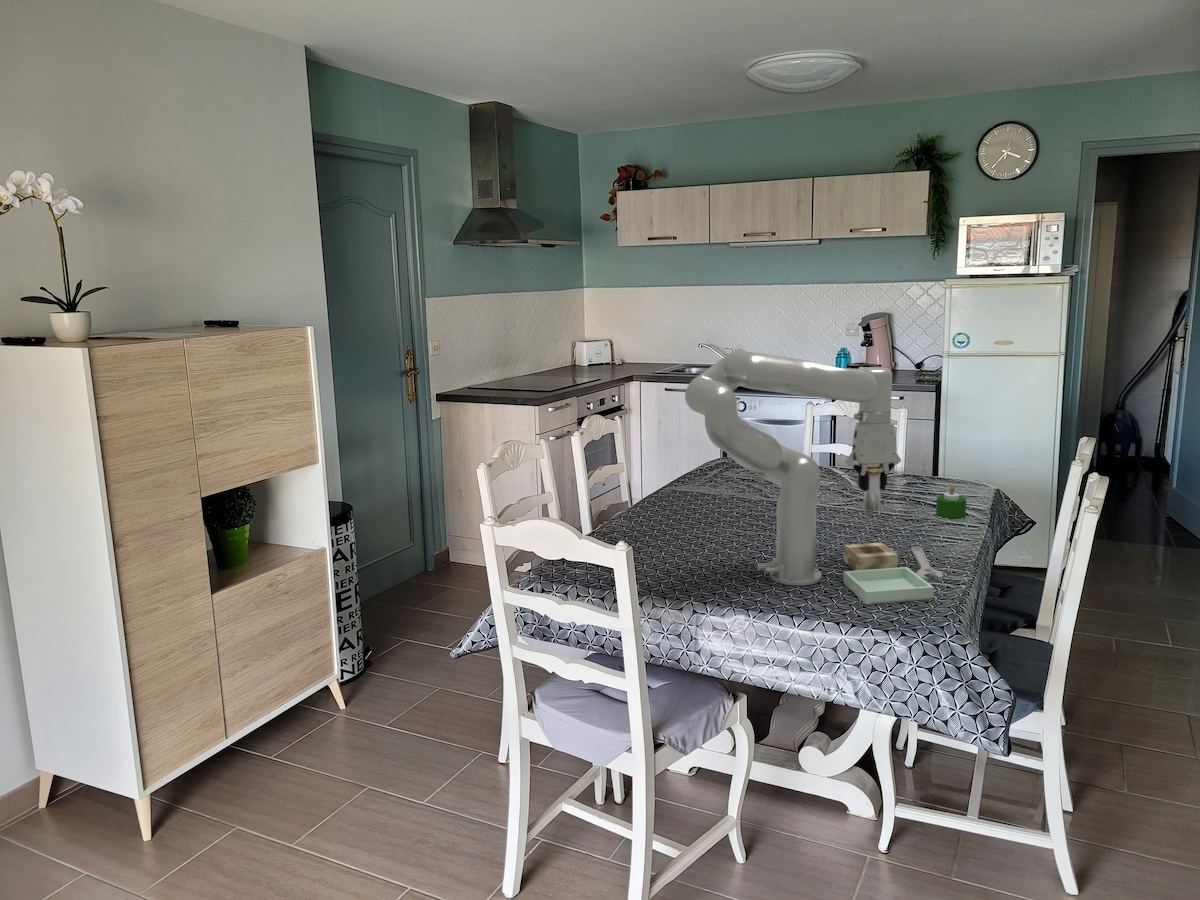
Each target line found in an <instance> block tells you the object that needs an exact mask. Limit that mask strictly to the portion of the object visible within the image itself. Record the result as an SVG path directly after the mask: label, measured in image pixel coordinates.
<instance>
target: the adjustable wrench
mask: <svg viewBox="0 0 1200 900" xmlns="http://www.w3.org/2000/svg"><path fill="white" fill-rule="evenodd" d="M910 548H911V549H910V551H912V552H911V553H913V554H912V555H914V556H915V557H914V556H913V557H914V559H915V562H916V563H917V565H918V567H919V570H917V571H916V572H915V573H916V574H917V575H918V576H920V577H921V578H922V579H924V580H925V581H926V582H928V583H929V580H930V578H927V577H926V576H928V577H932V578H933V579H934V578H935V579H936V581H937V580H938V581H941V580H942V579H943V576H944V571H942V570H937V569H935V568H933V567H931V565H930V563H929V561H928V559H927V557H926V554H925V551H924V550H923V548H922V547H920V546H912V547H910ZM935 579H934V580H935ZM938 581H937V582H938ZM942 581H943V580H942ZM942 581H941V582H942Z"/></svg>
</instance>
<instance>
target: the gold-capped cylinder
mask: <svg viewBox="0 0 1200 900" xmlns="http://www.w3.org/2000/svg"><path fill="white" fill-rule="evenodd" d="M881 472H884V467H883V466H882V465H879V464H868V465H867V469H866V476H867V477H868V480H867V491H863V510H865V511H867V512H878V511H880V510H881V493H882V491H881V490H882V489H881Z"/></svg>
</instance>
